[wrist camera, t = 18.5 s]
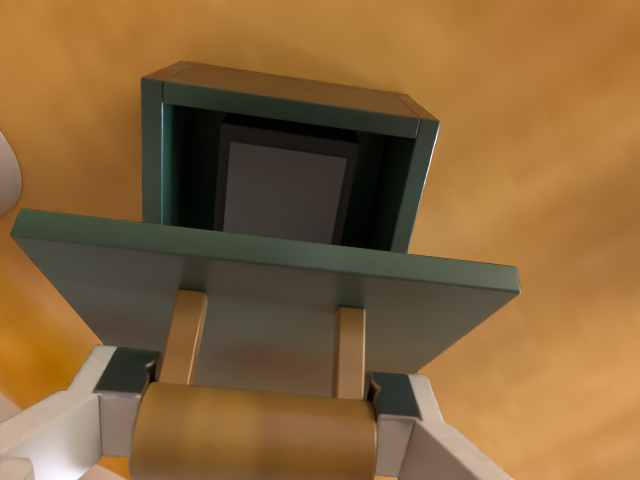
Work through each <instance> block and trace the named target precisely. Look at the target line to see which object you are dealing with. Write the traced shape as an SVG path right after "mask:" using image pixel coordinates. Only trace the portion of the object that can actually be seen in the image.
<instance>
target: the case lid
mask: <svg viewBox="0 0 640 480" xmlns="http://www.w3.org/2000/svg"><path fill="white" fill-rule="evenodd" d="M10 235H11V237H12V238H13V239H14V241H15V242H16V243H17V244H18V245H19V246H20V248H21V249H22V250H23V251H24V252H25V253H26V255H27V256H28V257H29V258H30V259H31V260H32V261H33V263H34V264H35V265H36V266H37V267H38V268H39V270H40V271H41V272H42V273H43V274H44V275H45V276H46V278H47V279H48V280H49V281H50V282H51V283H52V285H53V286H54V287H55V288H56V289H57V290H58V292H59V293H60V294H61V295H62V296H63V297H64V298H65V300H66V301H67V302H68V303H69V304H70V305H71V307H72V308H73V309H74V310H75V311H76V312H77V313H78V315H79V316H80V317H81V318H82V319H83V320H84V322H85V323H86V324H87V325H88V326H89V327H90V329H91V330H92V331H93V332H94V333H95V334H96V335H97V337H98V338H99V339H100V340H101V341H102V342H103V344H104V345H108V346H117V347H128V348H137V349H146V350H154V351H161V352H162V363H161V368H160V372H159V377H158V381H154V382H151V383H150V384H149V385H148V387H147V389H146V391H145V393H144V395H143V397H142V400H141V403H140V405H139V407H138V410H137V414H136V418H135V422H134V426H133V431H132V436H131V443H130V451H129V471H130V476H131V478H132V479H134V480H374V478H375V473H376V466H377V455H378V430H377V423H376V416H375V411H374V407H373V405H372V403H371V402H370V401H368V400H365V374H366V372H367V371H376V372H388V373H399V374H415V373H417V372H418V371H419V370H421V369H422V368H423V367H425V366H426V365H427V364H428V363H430V362H431V361H432V360H434V359H435V358H436V357H438V356H439V355H440V354H442V353H443V352H444V351H445V350H447V349H448V348H449V347H451V346H452V345H453V344H455V343H456V342H457V341H459V340H460V339H461V338H462V337H464V336H465V335H466V334H468V333H469V332H470V331H472V330H473V329H474V328H476V327H477V326H478V325H480V324H481V323H482V322H483V321H485V320H486V319H487V318H489V317H490V316H491V315H493V314H494V313H495V312H497V311H498V310H499V309H500V308H502V307H503V306H504V305H506V304H507V303H508V302H510V301H511V300H512V299H514V298H515V297H516V296H517V295H519V294H520V293H521V287H520V281H519V275H518V269H517V267H515V266H508V265H499V264H491V263H482V262H474V261H465V260H457V259H448V258H440V257H431V256H423V255H414V254H406V253H397V252H389V251H381V250H372V249H364V248H355V247H347V246H338V245H330V244H321V243H313V242H304V241H296V240H287V239H279V238H270V237H262V236H253V235H245V234H236V233H228V232H219V231H211V230H202V229H194V228H185V227H177V226H168V225H160V224H151V223H143V222H134V221H126V220H117V219H109V218H100V217H92V216H83V215H75V214H66V213H58V212H49V211H41V210H32V209H21V210H20V212H19V214H18V217H17V219H16V221H15V224H14V226H13V228H12V230H11V233H10Z"/></svg>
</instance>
